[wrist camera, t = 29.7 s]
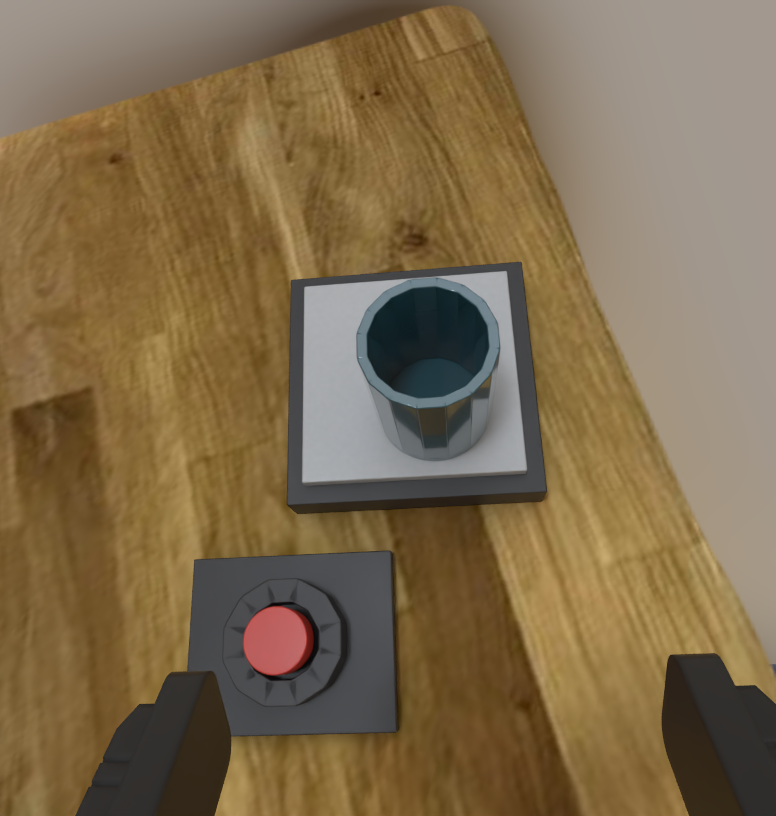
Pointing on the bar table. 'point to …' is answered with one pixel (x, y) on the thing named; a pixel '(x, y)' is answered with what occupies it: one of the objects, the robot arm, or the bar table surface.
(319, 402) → the scale
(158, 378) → the bar table surface
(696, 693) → the robot arm
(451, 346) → the cup
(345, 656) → the pad
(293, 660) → the button
